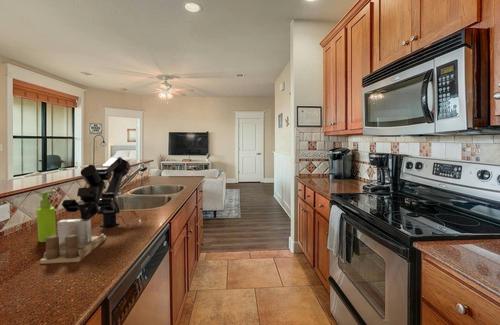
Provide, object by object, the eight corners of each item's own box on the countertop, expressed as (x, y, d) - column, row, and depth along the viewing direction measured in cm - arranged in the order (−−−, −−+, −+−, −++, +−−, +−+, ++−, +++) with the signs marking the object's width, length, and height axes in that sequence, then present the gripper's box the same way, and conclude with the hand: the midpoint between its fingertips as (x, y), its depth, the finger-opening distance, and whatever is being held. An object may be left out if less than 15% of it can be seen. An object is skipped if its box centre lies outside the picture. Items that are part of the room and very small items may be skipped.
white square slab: (63, 245, 98) (62, 219, 97) (91, 244, 99) (90, 218, 98) (58, 249, 95) (57, 222, 94) (87, 247, 96) (86, 221, 95)
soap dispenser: (62, 237, 111) (59, 191, 110) (44, 242, 105) (42, 193, 103) (52, 235, 113) (50, 190, 112) (35, 241, 107) (32, 193, 105)
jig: (75, 239, 108) (74, 220, 107) (106, 238, 110) (105, 219, 109) (40, 263, 86) (38, 239, 86) (78, 261, 88) (77, 237, 87)
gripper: (63, 180, 106) (47, 213, 95) (112, 179, 108) (101, 211, 98) (74, 195, 114) (60, 228, 103) (119, 194, 116) (110, 226, 106)
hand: (82, 223), depth 102 cm, fingers closed
